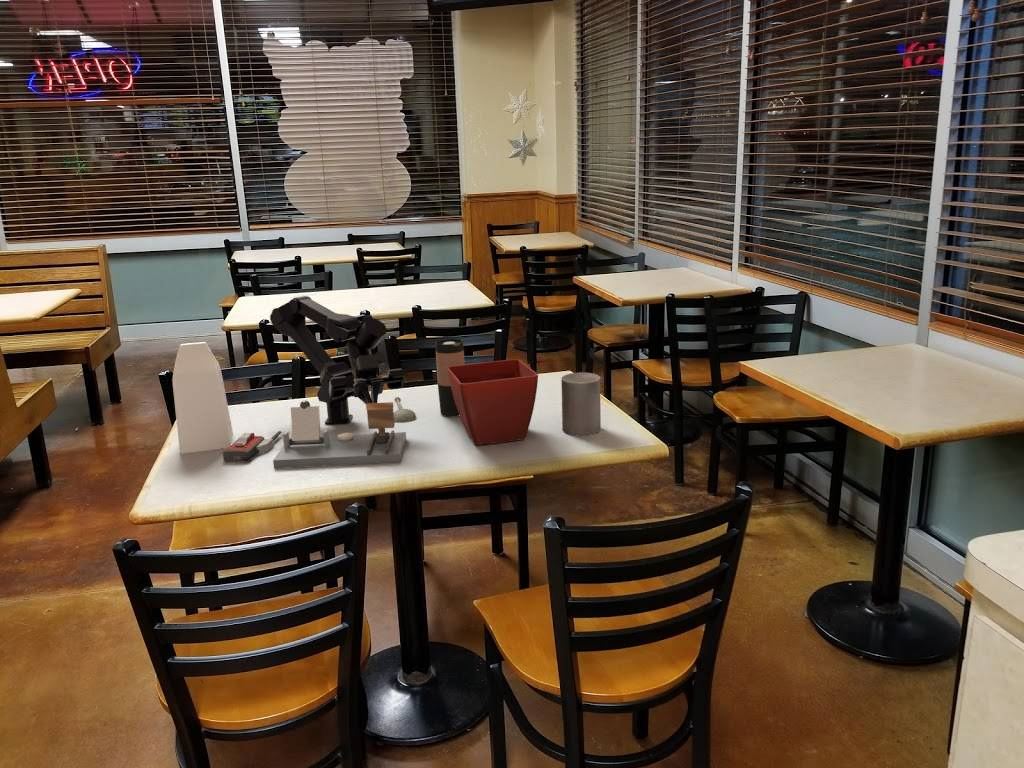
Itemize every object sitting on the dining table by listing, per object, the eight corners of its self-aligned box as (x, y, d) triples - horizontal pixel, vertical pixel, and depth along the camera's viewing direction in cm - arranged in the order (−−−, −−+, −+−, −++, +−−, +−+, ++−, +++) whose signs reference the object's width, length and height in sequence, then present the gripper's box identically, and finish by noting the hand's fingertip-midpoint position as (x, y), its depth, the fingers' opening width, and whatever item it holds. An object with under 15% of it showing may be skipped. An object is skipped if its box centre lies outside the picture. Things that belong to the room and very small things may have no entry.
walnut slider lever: (371, 437, 204) (367, 402, 201) (396, 436, 204) (393, 401, 201) (368, 443, 200) (365, 407, 197) (394, 441, 200) (391, 405, 198)
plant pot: (450, 428, 215) (446, 365, 211) (521, 420, 220) (519, 358, 215) (464, 452, 198) (460, 383, 193) (541, 442, 202) (539, 375, 197)
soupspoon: (392, 428, 222) (417, 426, 223) (392, 416, 221) (416, 414, 222) (386, 402, 242) (409, 401, 244) (386, 391, 241) (409, 390, 243)
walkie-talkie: (256, 464, 196) (284, 437, 216) (253, 447, 195) (282, 420, 214) (220, 465, 197) (251, 437, 216) (217, 447, 196) (249, 421, 215)
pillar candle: (560, 425, 215) (558, 368, 210) (597, 422, 215) (596, 366, 211) (565, 437, 205) (563, 378, 201) (604, 434, 206) (603, 376, 202)
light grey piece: (291, 445, 201) (289, 401, 201) (324, 443, 202) (322, 399, 202) (288, 445, 199) (286, 401, 199) (322, 444, 199) (320, 399, 199)
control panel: (289, 445, 208) (287, 424, 206) (406, 439, 208) (404, 418, 207) (274, 468, 192) (271, 445, 191) (400, 462, 193) (398, 439, 191)
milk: (180, 453, 205) (164, 350, 199) (184, 439, 216) (169, 341, 209) (231, 447, 208) (217, 345, 202) (233, 433, 219) (219, 336, 212)
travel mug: (442, 408, 233) (437, 338, 228) (469, 408, 232) (465, 338, 227) (437, 417, 225) (432, 344, 220) (465, 416, 225) (461, 344, 219)
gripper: (326, 346, 203) (339, 400, 196) (400, 337, 209) (416, 389, 202) (323, 370, 212) (336, 423, 205) (395, 361, 218) (410, 412, 211)
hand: (374, 411), depth 206 cm, fingers closed
